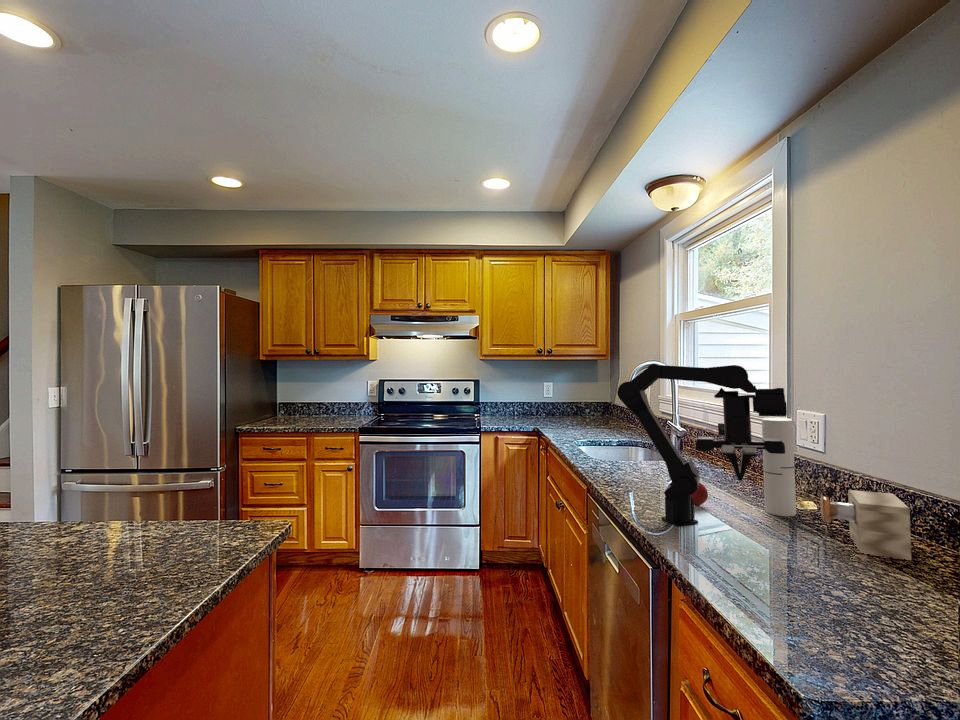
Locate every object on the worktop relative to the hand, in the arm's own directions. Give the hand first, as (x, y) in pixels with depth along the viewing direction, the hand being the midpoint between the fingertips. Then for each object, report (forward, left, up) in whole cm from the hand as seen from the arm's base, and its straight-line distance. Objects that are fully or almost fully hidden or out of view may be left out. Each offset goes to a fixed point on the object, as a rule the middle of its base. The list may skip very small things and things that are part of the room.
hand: (740, 480), depth 115 cm
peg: (+13, -16, -8) cm, 22 cm away
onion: (+5, +19, -12) cm, 23 cm away
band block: (+17, -20, -12) cm, 28 cm away
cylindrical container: (+21, +6, -12) cm, 25 cm away
